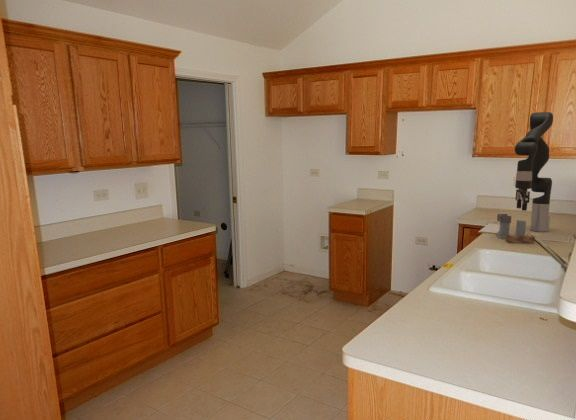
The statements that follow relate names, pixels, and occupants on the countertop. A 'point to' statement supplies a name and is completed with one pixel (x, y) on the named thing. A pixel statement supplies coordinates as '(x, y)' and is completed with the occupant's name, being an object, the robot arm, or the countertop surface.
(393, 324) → the countertop surface
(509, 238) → the rail
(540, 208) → the robot arm
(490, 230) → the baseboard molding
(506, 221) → the bracket stand
